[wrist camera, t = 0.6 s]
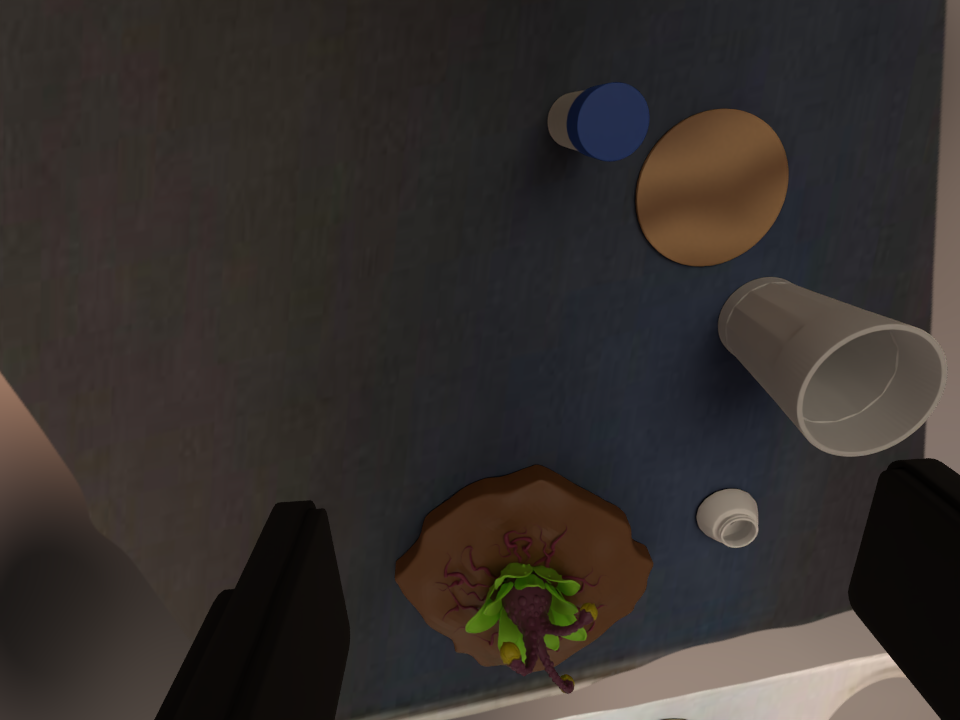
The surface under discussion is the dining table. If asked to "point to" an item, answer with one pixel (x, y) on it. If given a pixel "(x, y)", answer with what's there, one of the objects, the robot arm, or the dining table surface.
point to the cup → (834, 365)
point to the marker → (600, 121)
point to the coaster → (711, 187)
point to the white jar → (729, 517)
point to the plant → (524, 570)
